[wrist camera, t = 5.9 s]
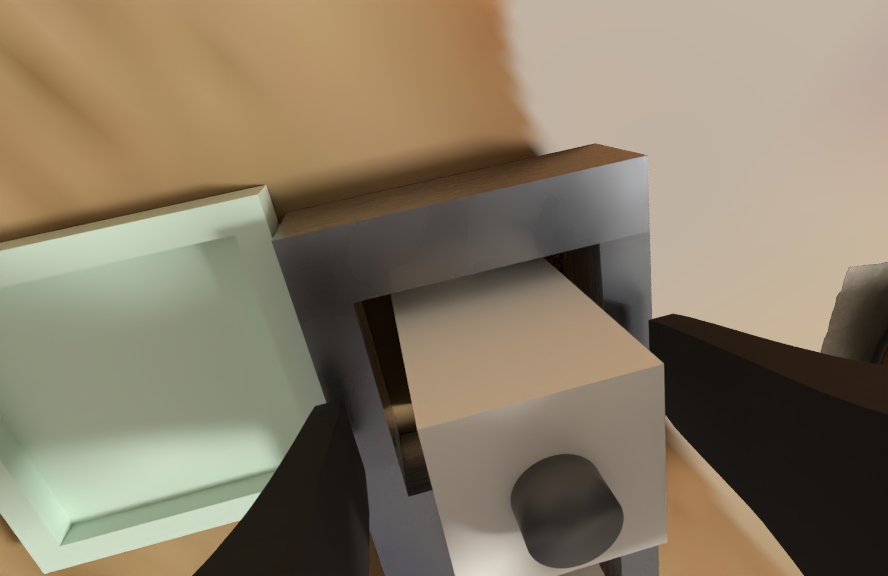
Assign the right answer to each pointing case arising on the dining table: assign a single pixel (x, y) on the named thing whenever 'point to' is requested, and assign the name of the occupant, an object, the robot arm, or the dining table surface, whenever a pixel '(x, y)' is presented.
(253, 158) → the dining table surface
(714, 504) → the dining table surface
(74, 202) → the dining table surface
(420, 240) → the small drawer cabinet
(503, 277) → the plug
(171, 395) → the tray
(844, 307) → the condiment
